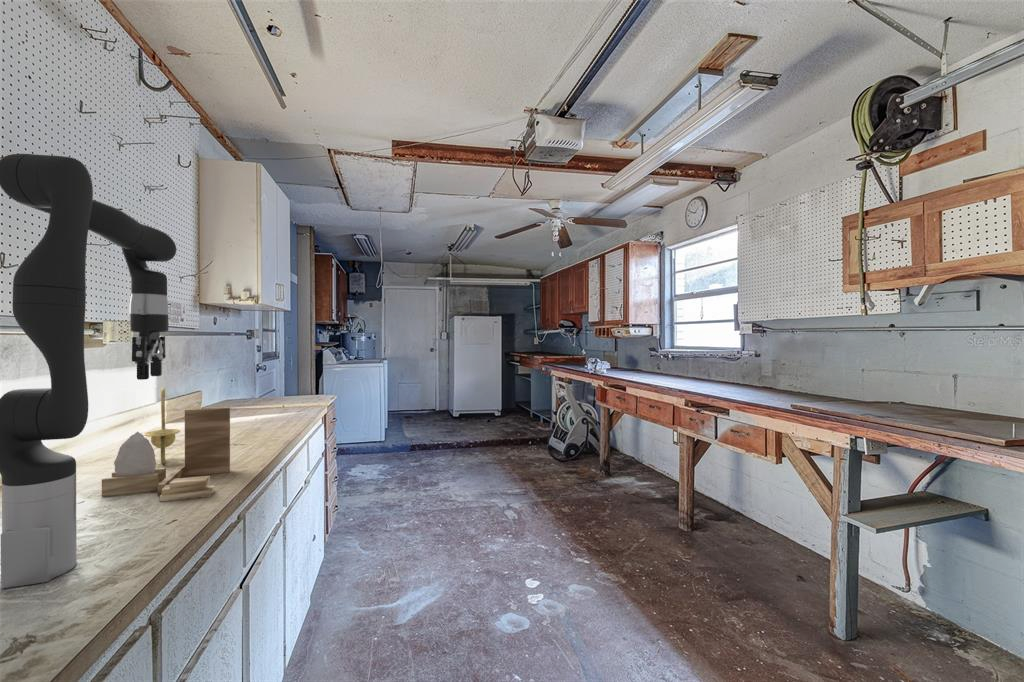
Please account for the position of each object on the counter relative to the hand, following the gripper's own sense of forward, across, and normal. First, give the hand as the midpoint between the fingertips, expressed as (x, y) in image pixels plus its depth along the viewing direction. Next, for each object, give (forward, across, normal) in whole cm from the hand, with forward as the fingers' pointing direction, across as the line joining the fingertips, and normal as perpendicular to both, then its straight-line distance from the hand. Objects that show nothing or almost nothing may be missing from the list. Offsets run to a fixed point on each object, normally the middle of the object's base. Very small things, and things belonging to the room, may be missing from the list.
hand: (149, 377), depth 112 cm
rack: (+32, -16, +6) cm, 36 cm away
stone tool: (+32, -15, -8) cm, 36 cm away
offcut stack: (+32, -4, +7) cm, 33 cm away
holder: (+32, -15, -8) cm, 36 cm away
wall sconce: (+32, -43, -10) cm, 55 cm away
